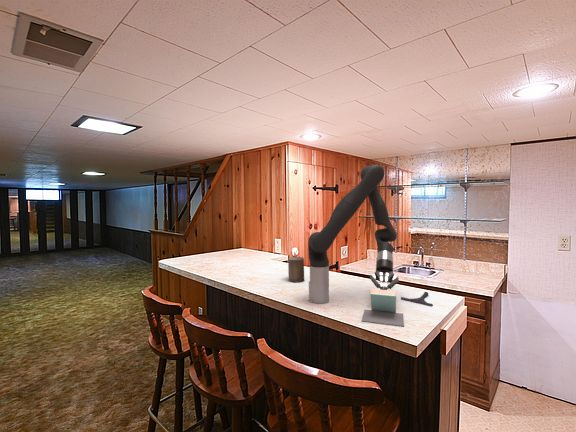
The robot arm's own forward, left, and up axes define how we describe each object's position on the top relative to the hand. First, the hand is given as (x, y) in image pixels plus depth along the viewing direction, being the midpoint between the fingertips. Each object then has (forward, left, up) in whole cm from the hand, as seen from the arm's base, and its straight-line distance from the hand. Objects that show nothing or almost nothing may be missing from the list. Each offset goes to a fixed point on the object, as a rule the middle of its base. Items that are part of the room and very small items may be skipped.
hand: (383, 296), depth 131 cm
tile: (0, +1, -6) cm, 6 cm away
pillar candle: (-52, +37, -7) cm, 64 cm away
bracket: (+17, +23, -8) cm, 29 cm away
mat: (0, -7, -7) cm, 10 cm away
